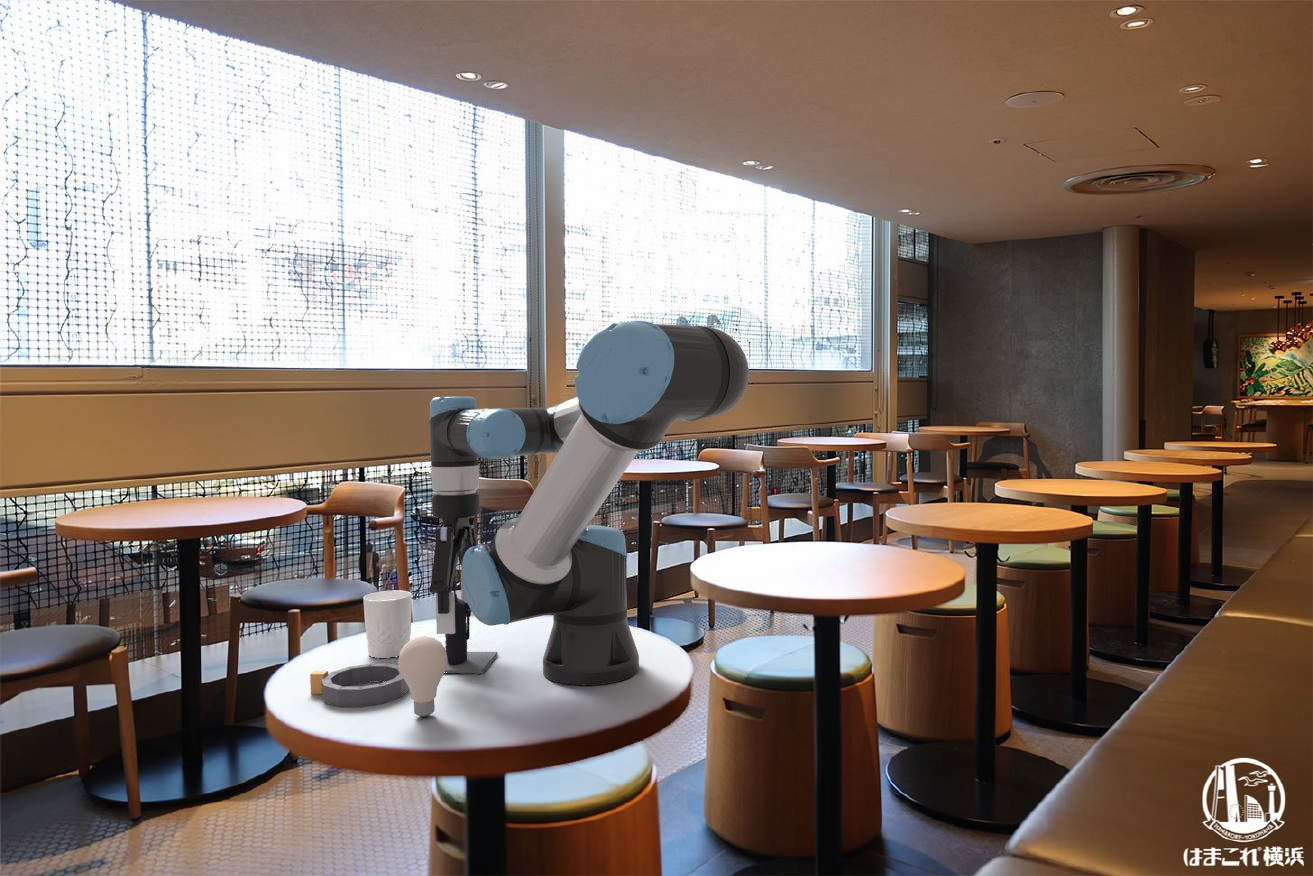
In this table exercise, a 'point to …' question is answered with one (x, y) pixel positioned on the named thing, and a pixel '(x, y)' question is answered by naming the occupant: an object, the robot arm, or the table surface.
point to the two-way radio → (458, 632)
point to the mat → (472, 663)
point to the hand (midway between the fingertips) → (458, 622)
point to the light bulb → (423, 671)
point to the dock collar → (344, 696)
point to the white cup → (387, 622)
